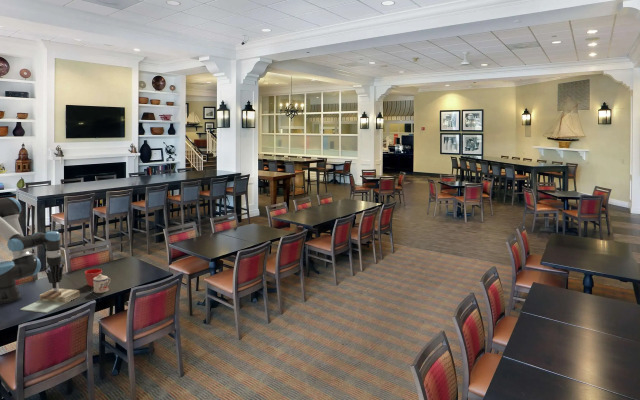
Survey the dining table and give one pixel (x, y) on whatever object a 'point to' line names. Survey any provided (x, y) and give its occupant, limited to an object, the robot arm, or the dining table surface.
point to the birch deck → (64, 295)
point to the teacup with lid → (101, 283)
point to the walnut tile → (50, 295)
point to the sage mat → (43, 306)
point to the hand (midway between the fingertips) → (56, 292)
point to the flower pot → (92, 275)
